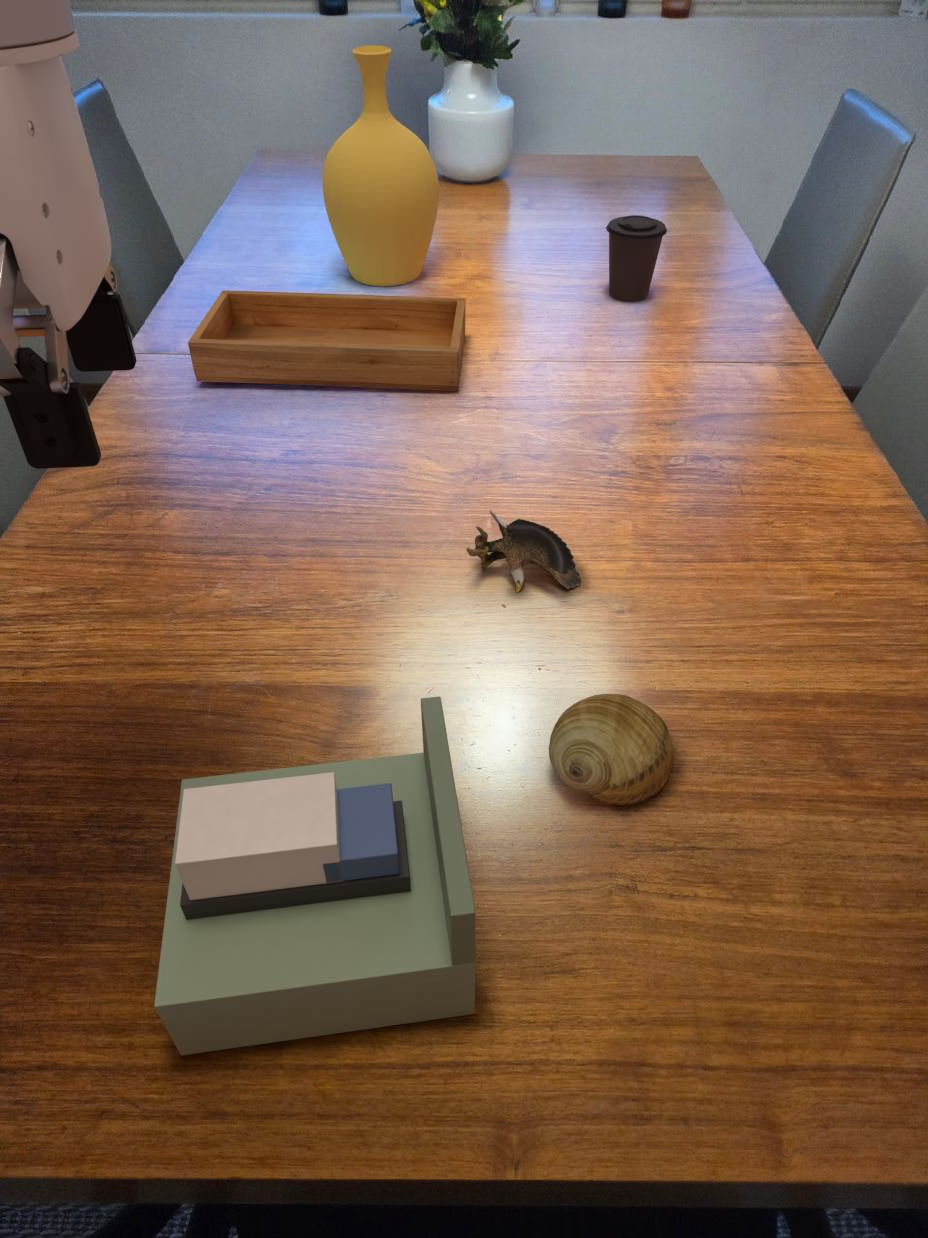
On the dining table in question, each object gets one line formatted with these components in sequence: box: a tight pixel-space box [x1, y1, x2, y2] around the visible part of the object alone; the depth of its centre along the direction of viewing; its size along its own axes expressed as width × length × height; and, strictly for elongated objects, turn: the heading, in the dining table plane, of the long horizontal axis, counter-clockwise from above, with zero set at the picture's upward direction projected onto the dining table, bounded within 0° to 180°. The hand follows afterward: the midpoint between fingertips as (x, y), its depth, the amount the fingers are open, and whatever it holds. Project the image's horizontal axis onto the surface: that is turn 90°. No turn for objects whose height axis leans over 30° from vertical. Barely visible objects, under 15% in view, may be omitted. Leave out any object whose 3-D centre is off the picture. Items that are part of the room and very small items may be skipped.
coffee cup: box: [605, 214, 668, 303], centre depth 119 cm, size 8×8×10 cm
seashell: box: [548, 693, 674, 807], centre depth 60 cm, size 10×7×8 cm
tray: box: [187, 289, 467, 392], centre depth 106 cm, size 31×15×6 cm, turn 87°
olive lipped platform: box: [153, 695, 477, 1056], centre depth 49 cm, size 16×14×11 cm
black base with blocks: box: [175, 772, 411, 920], centre depth 47 cm, size 12×5×5 cm, turn 98°
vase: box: [321, 44, 440, 287], centre depth 119 cm, size 16×16×28 cm
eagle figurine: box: [466, 509, 582, 593], centre depth 75 cm, size 8×7×9 cm
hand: (88, 412), depth 45 cm, fingers open, 9 cm apart
